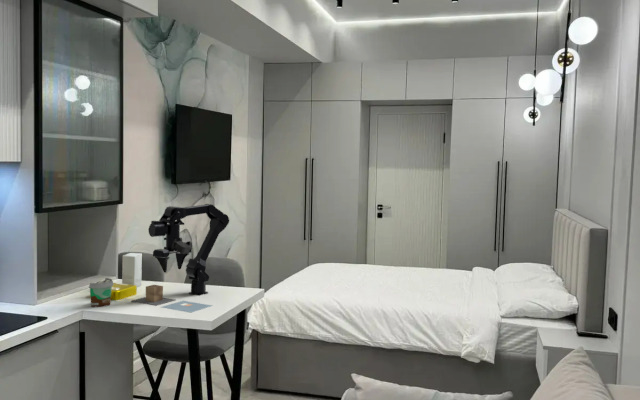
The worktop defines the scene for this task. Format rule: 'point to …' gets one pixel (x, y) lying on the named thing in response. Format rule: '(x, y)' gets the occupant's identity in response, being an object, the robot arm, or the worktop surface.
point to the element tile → (122, 291)
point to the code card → (186, 306)
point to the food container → (101, 293)
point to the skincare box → (132, 269)
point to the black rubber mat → (143, 300)
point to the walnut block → (154, 293)
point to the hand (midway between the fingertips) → (172, 270)
